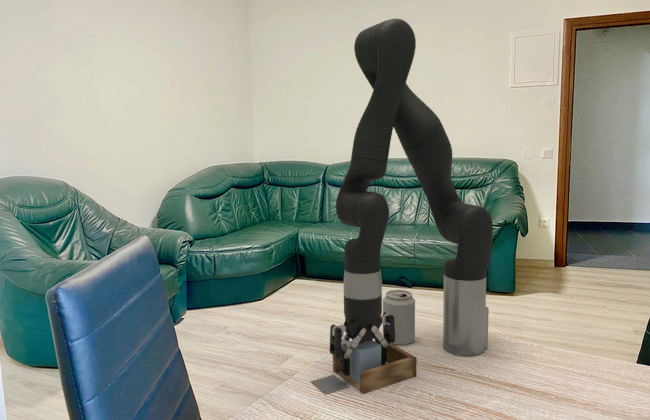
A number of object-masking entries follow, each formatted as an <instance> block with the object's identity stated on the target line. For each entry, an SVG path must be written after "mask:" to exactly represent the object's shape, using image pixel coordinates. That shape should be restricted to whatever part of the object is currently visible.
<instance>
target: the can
mask: <svg viewBox="0 0 650 420" xmlns="http://www.w3.org/2000/svg"><path fill="white" fill-rule="evenodd" d="M384 312H387V313H389V314H391V315H393V316H394V322H395V342H394V343H391V344H393V345H395V346H404V345H409V344H411V343H413V342H414V341H415V339H416V301H415V297H413V293H412V292H411V291H409V290H405V289H390V290H388V291H386V292H385V296H384V297H382V314H383V313H384ZM382 335H383V336H384V334H383V333H382Z"/></svg>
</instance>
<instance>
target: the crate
mask: <svg viewBox="0 0 650 420" xmlns="http://www.w3.org/2000/svg"><path fill="white" fill-rule="evenodd" d="M374 341H375V340H374ZM375 342H376V341H375ZM332 370H333V371H332V372H334V373H335V374H336V375H338V376H339V377H340V378H342V379H343V381H346V382H347V383H348V384H349V385H351V386H352V387H354V389H356V390H357V391H359V392H360V393H361V394H362V395H364V394H368V393H370V392H374V391H377V390H379V389H383V388H385V387H388V386H391V385H394V384H397V383H400V382H404V381H406V380H410V379H413V378H416V377H417V357H415V356H414V355H413V354H410V353H409V352H407V351H406V350H404V349H402V348H401V347H398V345H395V344H391V343H390V344H389V345H388V347H387V360H386V362H385V365H382V366H379V367H375V368H372V369H369V370H366V371H362V372H360V384H359V383H357V382H356V381H355V380H353V379H352V378H351V377H349V376H345V375H344V374H342V372H340V370H339V358H336V357H335V356H334V355H332Z"/></svg>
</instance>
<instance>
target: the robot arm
mask: <svg viewBox="0 0 650 420" xmlns="http://www.w3.org/2000/svg"><path fill="white" fill-rule="evenodd" d="M416 43H417V41H416V35H415V32H414V29H413V28H412V26H411V25H410V24H409V23H408V22H407V21H405V20H404V19H403V18H390V19H386V20H384V21H382V22H379V23H377V24H374V25H372V26H369V27H367V28H365V29H363V30H361V31H360V32H359V33H358V35H356V38H355V40H354V45H353V46H354V55H355V59H356V62H357V64H358V66H359V69H360V70H361V72H362V73H363V75H364V76H365V79H366V80H367V82H368V83H369V85H370V86H371V88H372V89H373V90H372V93H371V97H370V98H369V101H368V103H367V105H366V107H365V109H364V112H363V113H362V116H361V118H360V119H359V122H358V124H357V128H356V130H355V134H354V139H353V143H352V149H351V150H352V151H351V157H350V164H349V168H348V170H347V172H346V175H345V177H343V178H344V179H343V181H342V183H341V186H340V188H339V191H338V193H337V197H336V200H335V212H336V216H337V218H338V220H339V221H340V223H342V224H344V225H347V226H350V227H356V228H359V232H358V233H359V234H358V237H356V238H352V239H351V238H350V239H349V240H348V241H346V242H345V245H344V249H343V250H344V252H343V253H344V275H343V315H344V323H343V324H341V325H336V324H334V323H333V324H331V325H330V327H329V328H330V329H329V354H331V355H332V356H333V355H334V356H335V357H336V358H339V370H340V372H342V374H344V375H345V376H349V375H350V358H349V356H350V354H351V352H352V350H354V349H355V348H356V347H357V345H358V343H359V344H361V343H364V342H365V341H372V340H373V341H376V343H378V344H380V345H381V366H382V365H385V362H386V360H387V347H388V345H389V344H390V343H394V342H395V322H394V316H393V315H391V314H389V313H387V312H384V313H383V288H382V287H383V279H382V273H381V272H382V271H381V249H382V244H383V242H384V238H385V234H386V230H387V226H388V222H389V218H390V209H389V204H388V201H387V199H386V198H385V197H384V195H382V194H381V193H379V192H375V191H368V189H369V187H370V185H371V183H372V182H374V181H377V180H381V179H384V177H385V175H386V172H387V167H388V161H389V153H390V147H391V141H392V135H393V129H394V132H395V133H396V136H397V138H398V140H399V143H400V145H401V147H402V149H403V152H404V153H405V156H406V157H407V160H408V162H409V164H410V165H411V167H412V169H413V171H414V173H415V175H416V178H417V180H418V182H419V184H420V187H421V188H422V191H423V192H424V195H425V198H426V200H427V203H428V206H429V209H430V211H431V214H432V217H433V221H434V224H435V226H436V228H437V230H438V233H439V234H440V235H441V237H442V238H443V239H445V241H447V242H449V243H452V244H455V245H457V249H456V257H455V258H451V259H447V260H446V261H445V262H444V263H443V309H442V310H443V311H442V313H443V315H442V317H443V318H442V321H443V323H442V324H443V325H442V347H443V349H444V350H445V351H446V352H448V353H450V354H453V355H456V356H462V357H463V356H465V357H471V356H472V357H474V356H478V355H481V354H483V353H484V352H485V350H486V349H488V347H489V342H488V341H489V307H487V305H486V303H487V297H486V296H487V275H488V274H487V273H488V272H487V271H488V268H489V267H490V264H491V261H492V248H493V247H492V246H493V237H494V235H493V234H494V222H493V218H492V215H491V212H490V211H488V210H487V209H486V208H485V207H482V206H480V205H476V204H470V203H469V204H468V203H464V202H463V201H462V200H461V198H460V196H459V194H458V192H457V190H456V188H455V186H454V184H453V180H452V166H453V148H452V144H451V142H450V138H449V137H448V134H447V133H446V132H447V131H446V130H445V128H444V125H443V123H442V122H441V120H440V118H439V116H438V115H437V114H436V113H435V111H433V110H432V109H431V108H430V107H429V106H428V105H427V104H426V103H425V102H424V101H423V100H422V99H421V98H420V97H418V96H417V94H415V93H414V92H413V90H412V89H411V88H410V87H409V85H408V84H407V80H408V77H409V74H410V71H411V68H412V65H413V61H414V57H415V54H416V48H417V47H416V46H417V45H416ZM381 326H382V332H381V331H380V330H379V329H380V328H381ZM383 334H384V336H383ZM349 341H352V342H351V343H350V342H349Z"/></svg>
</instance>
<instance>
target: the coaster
mask: <svg viewBox="0 0 650 420" xmlns="http://www.w3.org/2000/svg"><path fill="white" fill-rule="evenodd" d="M310 383H311V384H312V385H313V386H314V387H315V388H316V389H317V390H319V391H320V392H321V393H322V394H323V395H324V396H326V395H329V394H333V393H336V392H339V391H342V390H344V389H347V388H348V389H349V388H350V386H349V385H348V384H346V383H345V382H344V380H343V381H342V379H340V378H339V377H338V376H337V375H335V374H331V375H328V376H324V377H320V378H318V379H314V380H311V381H310Z"/></svg>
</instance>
